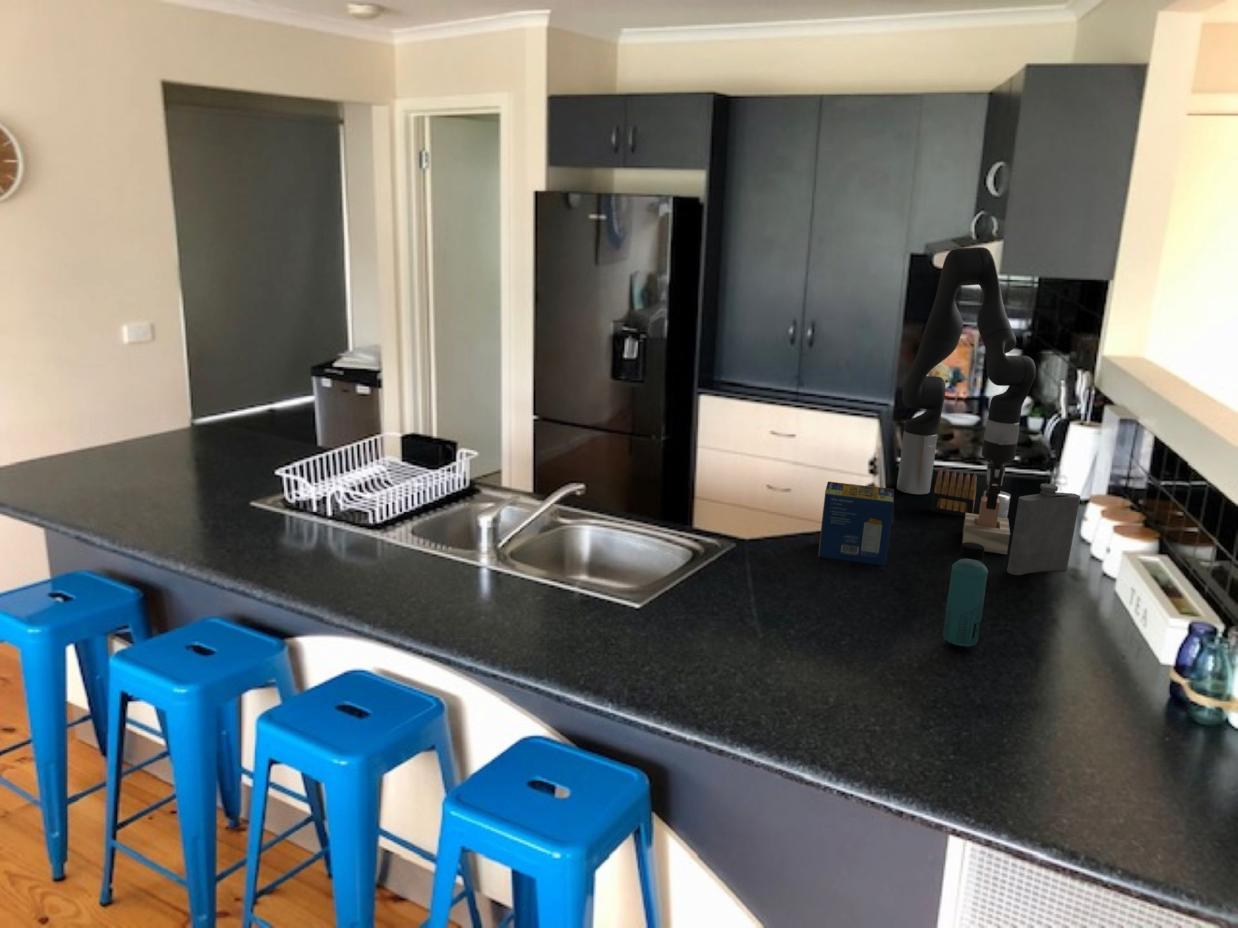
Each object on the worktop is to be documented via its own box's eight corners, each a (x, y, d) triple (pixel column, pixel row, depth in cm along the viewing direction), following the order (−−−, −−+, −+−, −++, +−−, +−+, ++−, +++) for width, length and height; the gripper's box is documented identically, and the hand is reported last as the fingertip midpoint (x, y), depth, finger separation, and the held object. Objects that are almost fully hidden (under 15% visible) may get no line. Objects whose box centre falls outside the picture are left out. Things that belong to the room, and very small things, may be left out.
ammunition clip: (973, 516, 253) (979, 473, 250) (972, 518, 252) (978, 474, 249) (931, 509, 258) (937, 466, 255) (930, 510, 257) (936, 468, 253)
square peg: (975, 534, 236) (981, 496, 233) (993, 537, 234) (999, 498, 232) (976, 539, 232) (982, 500, 229) (993, 542, 231) (999, 503, 228)
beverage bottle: (973, 657, 172) (989, 553, 167) (935, 647, 176) (950, 545, 170) (981, 644, 178) (996, 543, 172) (944, 635, 181) (959, 535, 176)
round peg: (978, 521, 249) (983, 488, 247) (1004, 525, 247) (1010, 492, 245) (978, 528, 244) (984, 495, 241) (1005, 532, 242) (1011, 498, 239)
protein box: (820, 542, 228) (827, 480, 224) (887, 551, 225) (895, 488, 220) (817, 557, 219) (824, 492, 215) (886, 566, 215) (894, 501, 211)
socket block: (962, 531, 241) (965, 512, 240) (1005, 537, 238) (1008, 518, 236) (962, 547, 229) (965, 528, 228) (1006, 554, 226) (1010, 534, 225)
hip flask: (1013, 575, 213) (1027, 490, 207) (1001, 569, 216) (1014, 484, 211) (1070, 569, 218) (1085, 486, 213) (1057, 563, 222) (1071, 481, 216)
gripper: (983, 430, 234) (973, 493, 239) (984, 443, 221) (973, 510, 226) (1016, 434, 232) (1005, 497, 236) (1018, 448, 219) (1007, 514, 223)
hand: (990, 503), depth 231 cm, fingers open, 8 cm apart
